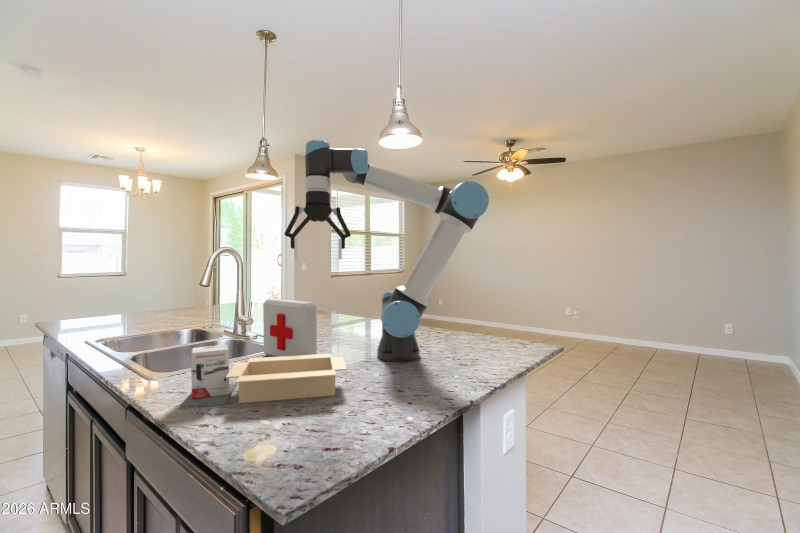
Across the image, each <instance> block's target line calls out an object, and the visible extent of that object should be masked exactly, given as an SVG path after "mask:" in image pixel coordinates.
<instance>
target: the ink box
mask: <svg viewBox="0 0 800 533" xmlns="http://www.w3.org/2000/svg"><path fill="white" fill-rule="evenodd" d="M229 357H230V350H229V345H227V344H217V345H209V346H199V347H193V348H191V366H190V369H191V372H190V374H191V392H192V399H199V398H205V397H212V396H218V395H225V394H229V384H230V378H226V376H227V374H228V373H229V371H230V358H229Z"/></svg>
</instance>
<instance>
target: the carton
mask: <svg viewBox="0 0 800 533" xmlns="http://www.w3.org/2000/svg"><path fill="white" fill-rule="evenodd" d="M332 354H333V353H317V354H315V355H298V356H280V357H273V356H268V357H267V356H266V357H265V356H264V357H263V356H262V357H250V358H248V359H247V361H246V362H234V364H233V366H232V367H231V369H229V373H228V374H227V376H226V378H229V379H235V378H237V379H236V381H235V384H238V404H247V403H255V402H256V403H257V402H259V403H260V402H268V401H269V402H270V401H282V400H283V401H284V400H294V399H306V398H307V399H308V398H317V397H318V398H320V397H330V396H336V376H337V371H338V372H339V371H347V366H346V362H345V359H344V357H343V356H333V355H332Z"/></svg>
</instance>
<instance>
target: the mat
mask: <svg viewBox="0 0 800 533" xmlns="http://www.w3.org/2000/svg"><path fill="white" fill-rule="evenodd" d="M236 387H237V383H229V394H225V395H218V396H212V397H205V398H199V399H192V391H191V392H190V394H188V395H187V397H186V398H185V399H184V400H183V401H182V403H181V404H180V405H179V408H180V409H183V408H185V409H186V408H195V407H206V406H207V407H208V406H210V407H211V406H219V405H220V406H221V405H227V403H228V401H229V400H230V397H231V396H232V395H233V392H234V390H236Z"/></svg>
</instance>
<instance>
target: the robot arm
mask: <svg viewBox="0 0 800 533" xmlns="http://www.w3.org/2000/svg"><path fill="white" fill-rule="evenodd" d="M304 158H305V159H304V160H305V162H304V163H305V164H304V165H305V190H306V192H305V207H301V206H299V205H296V206H295V209H294V214H293V216H292V218H291V220H290V221H289V224H288V225H287V227H286V230H285V231H284V236H285V237H287V238H289V239H290V249H291V250H294V260H298V238H296V236H298V234H299V233H300V232H302V230H303V229H304V228H305V226H306V225H307V224H308V223H309V222H310V221H311V222H315V223H316V222H320V223H323V222H325V221H326V222H327V224H329V226H330V227H331V228H332V230H334V232H335V233H336V234H337V235H338V237H340V238H338V242H337V243H338V260H342V257H343V256H342V250H344V249H345V248H346V238H349V237H351V235H352V234H351V232H350V230H349V227H348V225H347V223H346V222H345V220H344V218H343V216H342V213H341V208H340V207H334V208H332V207H331V194H330V191H331V174H342V175H343V178H345V180H346V181H348V182H349V183H351V184H358V185H362V186H364V187H365V186H366V187H369V188H371V189H374V190H377V191H380V192H383V193H385V194H388V195H391V196H395V197H397V198H400V199H403V200H405V201H408V202H412V203H415V204H417V205H420V206H423V207H426V208H429V209H431V211H432V213H435V214H437V215H439V219H440V221H439V222H438V224H437V226H436V227H435V229H434V230H433V233H432V234H431V236H430V238H429V240H428V242H427V243H426V245H425V246H424V249H423V250H422V252H421V254H420V255H419V256H418V259H417V260H416V262H415V263H414V265H413V267H412V269H411V270H410V272H409V274H408V276H407V277H406V279H405V281H404V282H403V284H402V285H400V286H396V287H395V289H394V291H386V292H383V293H382V297H381V303H382V304H381V308H382V310H381V317H380V319H381V321H380V322H381V330H382V331H381V332H382V333H381V337H380V340H379V343H378V346H377V350H376V351H377V352H376V357H377V358H378V359H380V360H382V361H386V362H396V363H397V362H410V361H414V360H417V359H418V358H420V352H421V351H420V347H419V343H418V341H417V338H416V334H415V332H416V331H417V330H418V328H419V326H420V323H421V318H422V317H423V314H424V313H425V311H426V309H427V308H428V301H427V299H428V297H429V295H430V293H431V291H432V289H433V288H434V286H435V284H436V282H437V280H438V279H439V278H440V276H441V274H442V272H443V270H444V268H445V267H446V265H447V264H448V262H449V260H450V258H451V257H452V255H453V254H454V252H455V250H456V249H457V246H458V244H459V243H460V242H461V240H462V238H463V237H464V234H467V233H470V232H472V230H473V228H474V227H475V225H476V223H477V221H478V220H479V218H480V217H482V216H483V215H484V214H485V213H486V212H487V209H488V207H489V204H490V203H489V202H490V197H489V193H488V191H487V189H486V188H485V187H484V186H483V185H482V184H481V183H479V182H477V181H475V180H474V181H473V180H466V181H463V182H460V183H458V184H456V185H455V187H453V188H450V187H445V186H443V185H442V186H440V187H437V186H434V185H431V184H427V183H426V182H423V181H420V180H417V179H414V178H411V177H407V176H405V175H403V174H399V173H396V172H393V171H390V170H387V169H384V168H382V167H379V166H376V165H373V164H370V163H369V153H368V151H367V150H366V149H365V148H357V147H354V148H333V147H331V144H330V143H329V142H328V141H326V140H320V139H312V140H308V141H307V142H306V143H305V155H304ZM303 212H304V214H306V217H305V218H304V219H303V221H302V222H301V223H300V224H299V225H298V226H297V227H296V229H295V230H294V231H293V232H292V233H291V231H292V229H293V228H294V226H295V223H296V221H297V220H298V218H299V217H300V215H301V214H302V213H303ZM331 213H333V215H334V216H336V218H337V220H338V222H339V225H340V227H341V228H342V230H343V231H342V230H340V228H339V227H338V226H337V225H336V224H335V222H334V221H333V219H331V217H330V215H331ZM343 232H344V233H343Z"/></svg>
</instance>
